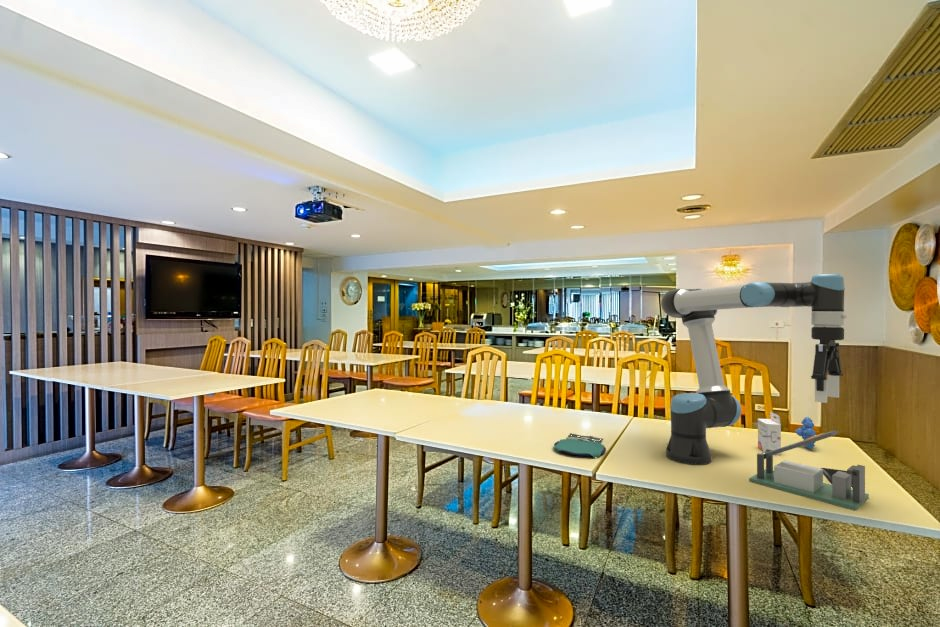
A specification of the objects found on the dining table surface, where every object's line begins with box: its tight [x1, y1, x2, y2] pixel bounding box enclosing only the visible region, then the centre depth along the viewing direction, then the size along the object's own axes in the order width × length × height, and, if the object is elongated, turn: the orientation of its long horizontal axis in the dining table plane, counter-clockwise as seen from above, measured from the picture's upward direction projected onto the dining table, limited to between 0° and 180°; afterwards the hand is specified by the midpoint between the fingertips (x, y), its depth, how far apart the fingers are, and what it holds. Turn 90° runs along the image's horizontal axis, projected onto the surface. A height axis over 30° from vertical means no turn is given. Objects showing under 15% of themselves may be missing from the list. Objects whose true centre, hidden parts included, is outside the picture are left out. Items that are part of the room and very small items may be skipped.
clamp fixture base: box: [748, 449, 870, 511], centre depth 133 cm, size 26×14×10 cm, turn 37°
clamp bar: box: [760, 429, 838, 460], centre depth 135 cm, size 22×5×2 cm
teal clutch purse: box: [553, 432, 607, 459], centre depth 176 cm, size 20×30×2 cm, turn 155°
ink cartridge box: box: [757, 411, 782, 456], centre depth 170 cm, size 9×5×15 cm, turn 168°
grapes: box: [795, 416, 817, 450], centre depth 175 cm, size 12×7×12 cm, turn 153°
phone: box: [820, 467, 853, 489], centre depth 142 cm, size 8×1×15 cm
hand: (827, 399), depth 130 cm, fingers open, 12 cm apart
